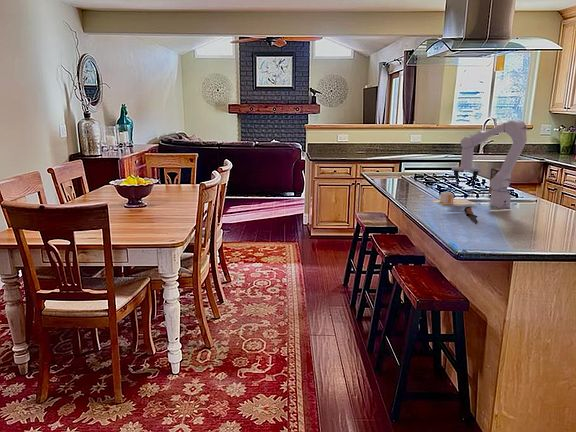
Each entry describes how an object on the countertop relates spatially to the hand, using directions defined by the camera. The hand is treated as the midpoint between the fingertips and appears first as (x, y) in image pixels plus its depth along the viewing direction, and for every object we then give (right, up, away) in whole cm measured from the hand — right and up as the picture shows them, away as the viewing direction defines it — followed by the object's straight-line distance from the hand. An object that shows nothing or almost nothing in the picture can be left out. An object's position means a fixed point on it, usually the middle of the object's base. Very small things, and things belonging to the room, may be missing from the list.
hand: (464, 184), depth 245 cm
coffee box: (+25, -6, +16) cm, 30 cm away
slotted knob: (-12, -10, -5) cm, 16 cm away
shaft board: (-8, -11, -4) cm, 14 cm away
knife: (-11, -19, -36) cm, 41 cm away
